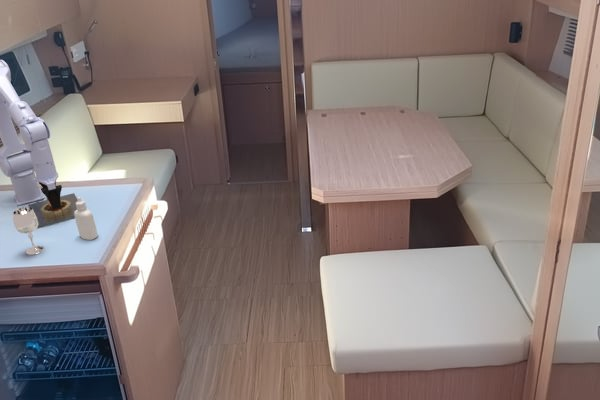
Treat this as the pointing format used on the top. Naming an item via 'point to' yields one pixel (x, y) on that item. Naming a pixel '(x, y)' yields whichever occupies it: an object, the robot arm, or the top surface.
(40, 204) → the collar plate
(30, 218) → the wineglass
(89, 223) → the eye dropper bottle
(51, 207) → the round knob
